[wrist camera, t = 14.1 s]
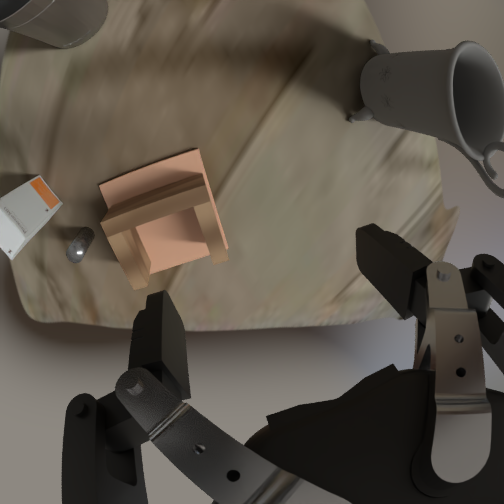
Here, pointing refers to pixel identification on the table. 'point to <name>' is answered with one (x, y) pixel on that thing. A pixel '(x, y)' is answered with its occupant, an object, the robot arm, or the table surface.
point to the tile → (172, 226)
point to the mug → (440, 99)
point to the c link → (154, 207)
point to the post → (80, 245)
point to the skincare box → (25, 214)
